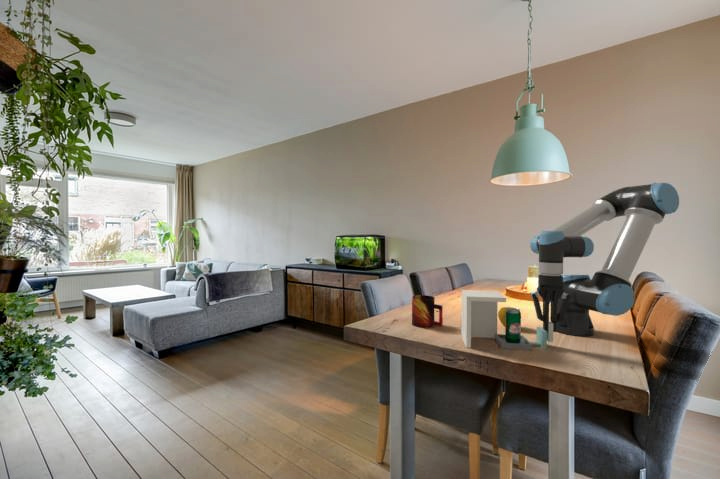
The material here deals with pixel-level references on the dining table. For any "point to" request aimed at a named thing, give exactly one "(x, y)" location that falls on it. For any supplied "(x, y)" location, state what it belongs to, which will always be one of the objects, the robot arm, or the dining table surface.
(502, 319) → the apple
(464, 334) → the cubby
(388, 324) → the dining table surface
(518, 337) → the soda can
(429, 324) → the mug
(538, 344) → the sled
